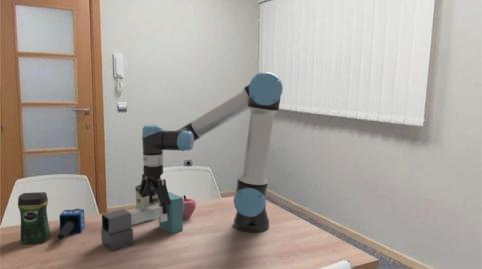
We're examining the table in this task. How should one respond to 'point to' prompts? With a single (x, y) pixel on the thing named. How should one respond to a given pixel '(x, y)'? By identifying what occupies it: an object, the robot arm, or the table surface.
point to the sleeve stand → (116, 230)
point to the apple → (188, 207)
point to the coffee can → (152, 198)
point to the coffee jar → (33, 217)
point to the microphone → (71, 222)
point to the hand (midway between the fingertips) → (154, 216)
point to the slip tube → (146, 214)
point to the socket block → (174, 215)
